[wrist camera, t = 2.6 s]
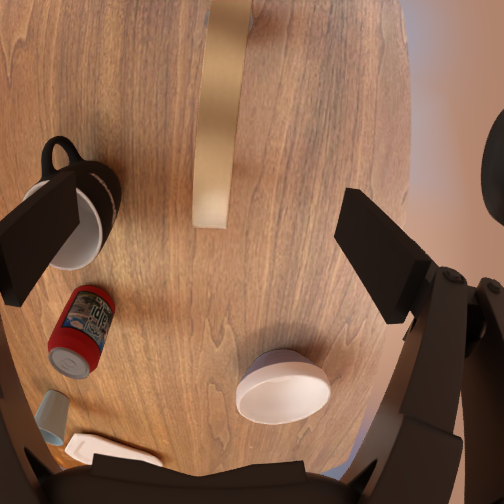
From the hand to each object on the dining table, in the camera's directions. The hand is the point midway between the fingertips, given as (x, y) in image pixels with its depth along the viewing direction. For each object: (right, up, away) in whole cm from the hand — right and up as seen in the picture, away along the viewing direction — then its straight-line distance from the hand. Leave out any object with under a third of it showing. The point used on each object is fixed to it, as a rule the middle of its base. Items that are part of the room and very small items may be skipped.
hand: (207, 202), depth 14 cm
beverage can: (-20, -9, +26) cm, 34 cm away
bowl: (+6, -21, +36) cm, 42 cm away
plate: (-36, -57, +53) cm, 87 cm away
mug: (-16, +6, +18) cm, 25 cm away
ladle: (-1, +14, +14) cm, 20 cm away
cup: (-39, -33, +39) cm, 64 cm away
